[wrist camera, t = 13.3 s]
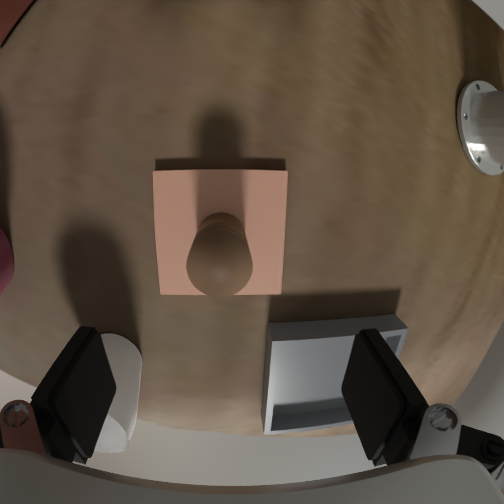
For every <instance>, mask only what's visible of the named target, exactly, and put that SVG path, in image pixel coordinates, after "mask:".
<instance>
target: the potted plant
mask: <svg viewBox="0 0 504 504" xmlns="http://www.w3.org/2000/svg"><path fill="white" fill-rule="evenodd" d="M34 1H35V0H0V45H3V43H4V42H5V40H6V39H7V37H8V36H9V34H10V33H11V32H12V30H13V29H14V27H15V26H16V25H17V23H18V22H19V20H20V19H21V18H22V16H23V15H24V14H25V13H26V11H27V10H28V9H29V7H30V6H31V5H32V4H33V3H34Z"/></svg>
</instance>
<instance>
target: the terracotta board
mask: <svg viewBox="0 0 504 504" xmlns="http://www.w3.org/2000/svg"><path fill="white" fill-rule="evenodd" d="M287 177H288V171H284V170H254V169H189V170H159V171H153V194H154V218H155V236H156V250H157V262H158V273H159V283H160V293H161V294H163V295H206V294H204V293H202V292H200V291H199V290H198V289H196V288H195V287H194V285H193V284H192V283H191V281H190V279H189V277H188V274H187V270H186V262H187V257H188V254H189V251H190V249H191V246H192V243H193V241H194V238H195V235H196V233H197V230H198V228H199V225H200V224H201V222H202V221H203V220H204V219H205V218H206V217H207V216H209V215H211V214H214V213H219V212H223V213H228V214H231V215H233V216H235V217H236V218H237V219H238V220H239V221H240V222H241V223H242V225H243V227H244V230H245V234H246V238H247V242H248V246H249V250H250V253H251V257H252V262H253V271H252V275H251V278H250V280H249V282H248V283H247V285H246V286H245V287H244V288H243V289H242V290H241V291H239V292H238V293H236V294H234V295H259V294H281V284H282V270H283V254H284V237H285V219H286V199H287Z"/></svg>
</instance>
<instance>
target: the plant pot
mask: <svg viewBox="0 0 504 504" xmlns="http://www.w3.org/2000/svg"><path fill="white" fill-rule="evenodd" d="M13 271H14V258H13V252H12V249H11V245H10V243H9V240H8V238H7V236H6V234H5V233H4V231H3V230H2V229H1V227H0V294H1V293H2V292H3V290H4V289H5V288H6V286H7V285H8V284H9V282H10V281H11V279H12V276H13Z"/></svg>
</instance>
